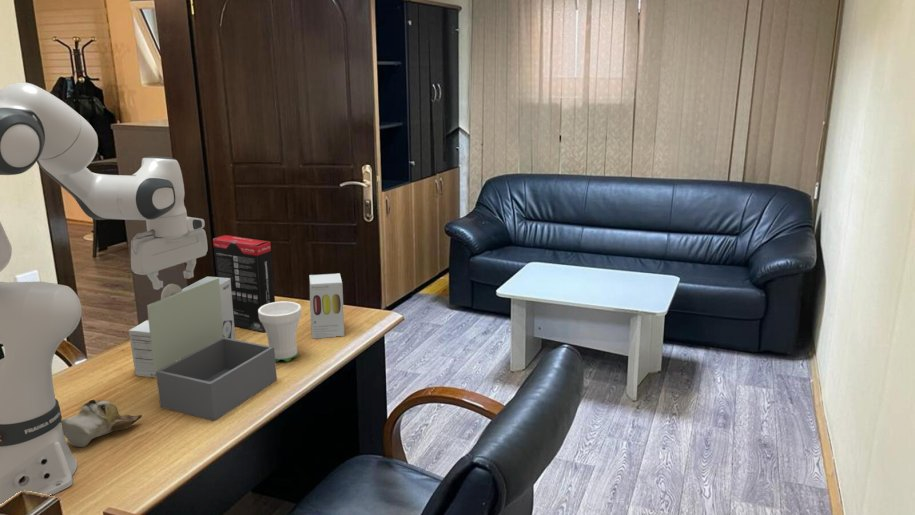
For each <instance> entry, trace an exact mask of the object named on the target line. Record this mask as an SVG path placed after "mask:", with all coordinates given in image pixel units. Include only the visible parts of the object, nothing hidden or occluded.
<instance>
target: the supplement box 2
mask: <svg viewBox="0 0 915 515" xmlns="http://www.w3.org/2000/svg"><path fill="white" fill-rule="evenodd" d="M308 279H309V309H310V314H309V315H310V329H311V337H312V339H315V340H316V339H325V338H337V337H336V336H341V337H345V320H344V319H345V318H344V293H343V292H344V290H343V281H342V280H343V279H342V277H341V273H340V272H339V273H338V272H337V273H325V274H324V273H323V274H309V278H308Z"/></svg>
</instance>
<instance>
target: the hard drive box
mask: <svg viewBox="0 0 915 515" xmlns="http://www.w3.org/2000/svg"><path fill="white" fill-rule="evenodd" d="M215 278H219V284H220V298H221V312H222V327H223V337H225V338H230V339H235V340H236V332H235V331H236V330H235V326H234V317H233V305H232V293H231V280H230V279H231V278H221V277H217V276H205V277H204V278H201V279H199V280H197V281H195V282H194V283H192V284H190V285H188V286H186V287H184V288H181V290H182V291H185V290H187V289H190V288H192V287H195V286H197V285H200V284H202V283H205V282H207V281H210V280H212V279H215ZM223 337H222V338H223ZM220 339H221V338H220ZM218 340H219V339H218ZM216 341H217V340H216ZM214 342H215V341H214ZM212 343H213V342H212ZM181 359H182V358H181Z"/></svg>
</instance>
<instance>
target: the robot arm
mask: <svg viewBox="0 0 915 515" xmlns="http://www.w3.org/2000/svg"><path fill="white" fill-rule="evenodd" d="M98 148H99V139H98V134H97V132H96V131H95V129H94V128H93V126H92V125H91V124H90V122H89V121H88V120H86V119H85V118H84V117H83V116H82V115H81V114H79V112H77V111H76V110H74V108H72V107H71V106H70V105H68V103H66V102H64V101H63V100H61V99H60V98H58V97H57V96H55V95H54V94H53V93H50V92H49V91H48V90H45V89H44V88H41V87H39V86H37V85H35V84H33V83H29V82H24V81H23V82H21V81H20V82H15V83H11V84H10V83H9V85H7V86H4V87H3V88H1V89H0V176H14V175H15V176H16V175H20V174H23V173H26V172H27V171H29V170H30V169H31V168H33V167H34V165H35V164H36V163H37V165H38V166H39V168H40V169H41V170H42V171H43V172H44V173H45V174H46V175H47V176H48V177H49V178H50V179H51V180H53V181H54V182H56V184H58V185H59V186H60V187H61V188H63V190H65V191H66V192H67V193H68V194H70V195H71V197H73V199H74V200H75V201H76V202H77V204H78V205H79V208H81V210H82V211H83V213H84V214H85V215H86V216H87V217H89V218H90V219H93V220H95V221H96V220H97V221H101V220H103V221H105V220H106V221H107V220H124V221H125V220H127V221H129V220H130V221H145V224H146V225H145V226H146V231H143V232H138V233H136V234H135V236H133V238H132V239H131V241H130V247H131V248H130V266H131V267H130V268H131V271H132V272H133V273H134V274H136V275H140V276H141V275H142V276H147V277H148V279H149V280H150V282H151V284H152V289H153V290H157V291H158V290H161V289H164V281H163V280H160V279H159V278H158V276H159V271H162V270H165V269H168V268H171V267H174V266H178V265H180V264H184V263H185V264H186V266H185V270H183V271H182V274H183V277H184V279H187V280H189V279H192V278H194V276H195V275H194V271H195V268H196V264H197V259H198V258H199V259H200V258H203V257H205V256H207V252H208V249H209V248H208V246H209V245H208V238H207V234H206V230H205V229H203V228H205V220H204V219H203V218H198V217H191V216H190V215H189V216H188V213H187V209H186V206H185V202H184V200H185V184H184V178H183V173H182V169H181V167H180V163H179V162H178V160H177V159H175V158H173V157H169V156H153V155H151V156H150V155H149V156H145V157H143V158H142V159H141V164H140V168H139V169H138V170H137V171H136V172H135V173H133V174H132V175H127V174H124V175H120V174H105V173H95V172H92V171H91V170H90V169H89V168H87V167H88V166H89V165H90V164H91V163H92V161H93V160H94V158H95V157H96V155H97V152H98ZM12 251H13V248H12V244H11V242H10V239H9V238H8V236H7V233H6V231H5V229H4V226H3V224H2V222H1V221H0V273H1V272H2V271H3V270H4V269H5V268H6V267H7V265H8V264H9V263H10V261H11V258H12V253H13V252H12ZM82 313H83V312H82V303H81V300H80V299H79V296H78V294H77V293H76V292H75V290H73V289H72V288H71V287H70V286H68V285H64V284H57V283H52V282H48V281H47V282H46V281H15V282H14V281H10V282H8V281H7V282H5V281H0V345H3V349H4V357H3V358H1V359H0V504H2V503H4V502H5V501H6V500H8V499H9V498H11V497H12V496H14V495H15V494H16V493H18V492H20V491H24V490H25V491H32V492H37V493H42V494H47V495H50V494H53V495H55V494H57V493H60V492H62V491H64V490H65V489H67V488H69V487H71V486H72V485H73V483H74V479H73V475H74V474H75V472H76V471H77V468H78V462H77V460H76V458H75V457H74V455H73V454H72V451H71V449H70V448H69V444H68V443H67V440H66V439H67V438H66V437H65V436H64V433H63V430H62V425H61V421H62V420H63V419H62V418H63V417H62V413H61V412H62V411H61V407H60V403H59V401H58V399H57V398H56V394H55V388H54V381H53V379H54V378H53V369H52V366H53V359H54V356H55V354H56V351H57V349H58V347H59V346H60V345H61V343H63V341H65V340H66V339H67V338H68V337H69V336H71V334H72V333H73V332H74V331H75V330H76V329H77V327H78V325H79V323H80V320H81V318H82Z"/></svg>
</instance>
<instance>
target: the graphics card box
mask: <svg viewBox="0 0 915 515" xmlns="http://www.w3.org/2000/svg"><path fill="white" fill-rule="evenodd" d="M212 244H213V251H214V252H213V253H214V261H215V262H214V265H215V270H216V271H215V272H216V277H221V278H231V279H230V280H231V293H232V305H233V317H234V327H237V328H243V329H247V330H253V331H257V332H261V333H266V331H265V328H264V326H263V324H262V323H261V322H260V320H259V315H258V309H259V308H260V307H261V306H263V305H265V304H268V303H273V302H276V298H275V284H274V274H273V273H274V271H273V260H272V248H271V247H272V245H271V241H269V240H261V239H255V238H254V239H253V238H247V237H241V236H235V235H227V234H225V235H221V236H217V237H214V238H213V239H212Z"/></svg>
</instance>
